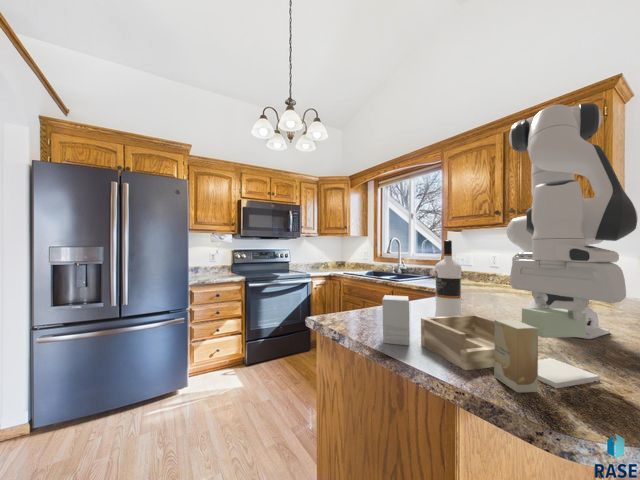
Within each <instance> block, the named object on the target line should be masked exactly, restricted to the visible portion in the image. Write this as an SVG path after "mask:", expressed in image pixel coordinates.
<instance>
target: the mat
mask: <svg viewBox="0 0 640 480" xmlns="http://www.w3.org/2000/svg"><path fill="white" fill-rule="evenodd" d="M600 379H601V378H600V375H599V374H595V373H593V372H590V371H587V370H585V369H581V368H579V367H576V366H574V365H571V364H568V363H565V362H563V361H560V360H558V359H555V358H551V357H549V358H544V359H538V382H541V383H544V384H546V385H548V386H550V387H553V388H555V389H560V388H561V389H562V388H567V387H571V386H572V387H573V386H578V385H583V384H589V383H594V381H596V382H600V381H599V380H600Z"/></svg>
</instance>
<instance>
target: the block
mask: <svg viewBox="0 0 640 480" xmlns="http://www.w3.org/2000/svg"><path fill="white" fill-rule="evenodd" d="M568 315H569V314H568V310H566V309H548V308H530V307H526V308H525V307H522V308H521V322H522V323H525V324H527V325H530V326H532V327H535V328H538V337H540V338H545V339H546V338H549V339H550V338H579V337H586V313H583V312H582V320H574V319H569V318H568Z"/></svg>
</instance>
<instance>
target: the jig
mask: <svg viewBox="0 0 640 480" xmlns="http://www.w3.org/2000/svg"><path fill="white" fill-rule="evenodd" d="M495 320H496V319H492V318H489V317H485V316H482V315H479V314H475V313H472V314H462V315H456V316H442V317H435V316H429V317H428V316H427V317H421V318H420V345H421V346H422V347H424V348H426V349H428V350H429V351H431V352H433V353H435V354H436V355H438V356H440V357H442V358H443V359H445V360H446V361H449V362H450V363H452V364H453V365H456V366H457V367H459V368H461V369H463V370H464V371H471V370H479V369H487V368H488V369H489V368H494V347H495Z"/></svg>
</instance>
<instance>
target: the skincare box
mask: <svg viewBox="0 0 640 480" xmlns="http://www.w3.org/2000/svg"><path fill="white" fill-rule="evenodd" d="M494 320H495V347H494V367H493V370H494V371H493V373H494V375H493V376H494V378H495V379H497V380H498V381H500V382H501V383H502V384H505V386H507V387H508V388H510V389H511V390H512V391H515V392H516V393H517V394H518V393H519V394H520V393H537V392H538V391H539V390H538V389H539V387H538V385H539V384H538V383H539V380H538V360H539V336H538V328H535V327H532V326H530V325H527V324H525V323H522V321H518V320H515V319H512V318H506V319H494Z"/></svg>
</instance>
